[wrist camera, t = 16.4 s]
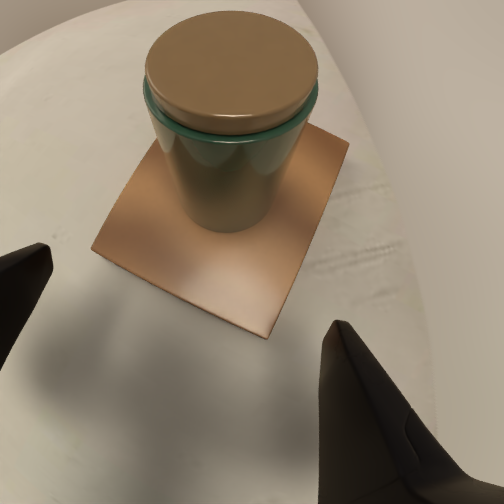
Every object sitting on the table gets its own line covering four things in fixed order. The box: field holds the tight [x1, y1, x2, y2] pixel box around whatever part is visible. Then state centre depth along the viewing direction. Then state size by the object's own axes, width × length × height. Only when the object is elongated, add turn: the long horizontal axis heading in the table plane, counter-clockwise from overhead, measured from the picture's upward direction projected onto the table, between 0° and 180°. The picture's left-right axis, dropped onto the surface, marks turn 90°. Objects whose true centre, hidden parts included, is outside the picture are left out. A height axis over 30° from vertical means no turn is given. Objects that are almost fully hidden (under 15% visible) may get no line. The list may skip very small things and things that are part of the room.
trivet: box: [91, 122, 349, 339], centre depth 16 cm, size 12×10×2 cm
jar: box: [143, 11, 318, 233], centre depth 11 cm, size 5×5×9 cm
